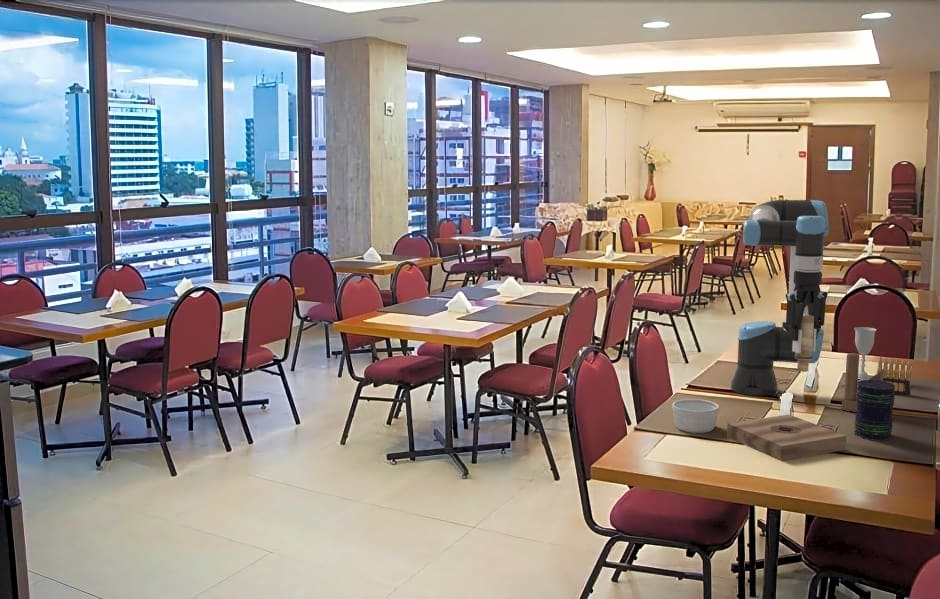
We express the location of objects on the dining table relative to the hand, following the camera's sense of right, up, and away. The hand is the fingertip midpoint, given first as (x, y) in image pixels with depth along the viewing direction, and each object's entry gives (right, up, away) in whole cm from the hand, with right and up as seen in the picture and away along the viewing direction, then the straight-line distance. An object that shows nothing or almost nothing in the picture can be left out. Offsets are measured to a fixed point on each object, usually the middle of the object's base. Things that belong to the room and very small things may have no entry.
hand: (803, 351), depth 259 cm
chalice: (+44, -14, +62) cm, 77 cm away
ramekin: (-30, -23, +6) cm, 38 cm away
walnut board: (-9, -25, -9) cm, 28 cm away
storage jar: (+19, -24, -3) cm, 31 cm away
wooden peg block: (+25, -20, +20) cm, 38 cm away
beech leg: (0, -6, +1) cm, 6 cm away
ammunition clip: (+45, -17, +42) cm, 64 cm away
